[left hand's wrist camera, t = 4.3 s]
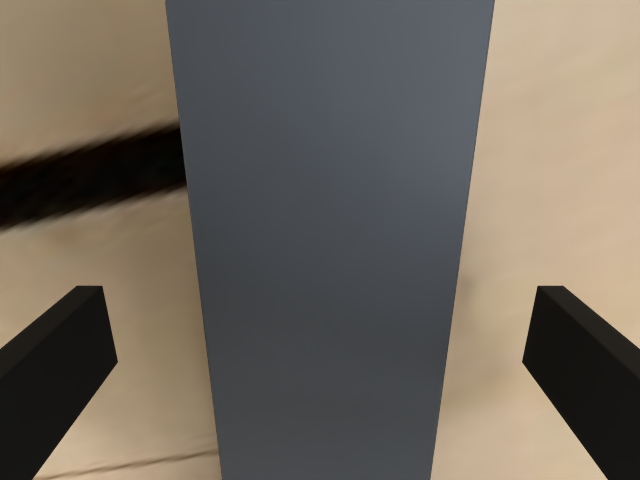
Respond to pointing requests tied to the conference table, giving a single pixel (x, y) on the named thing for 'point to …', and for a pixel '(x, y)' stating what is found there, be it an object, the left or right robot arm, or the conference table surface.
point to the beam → (328, 221)
